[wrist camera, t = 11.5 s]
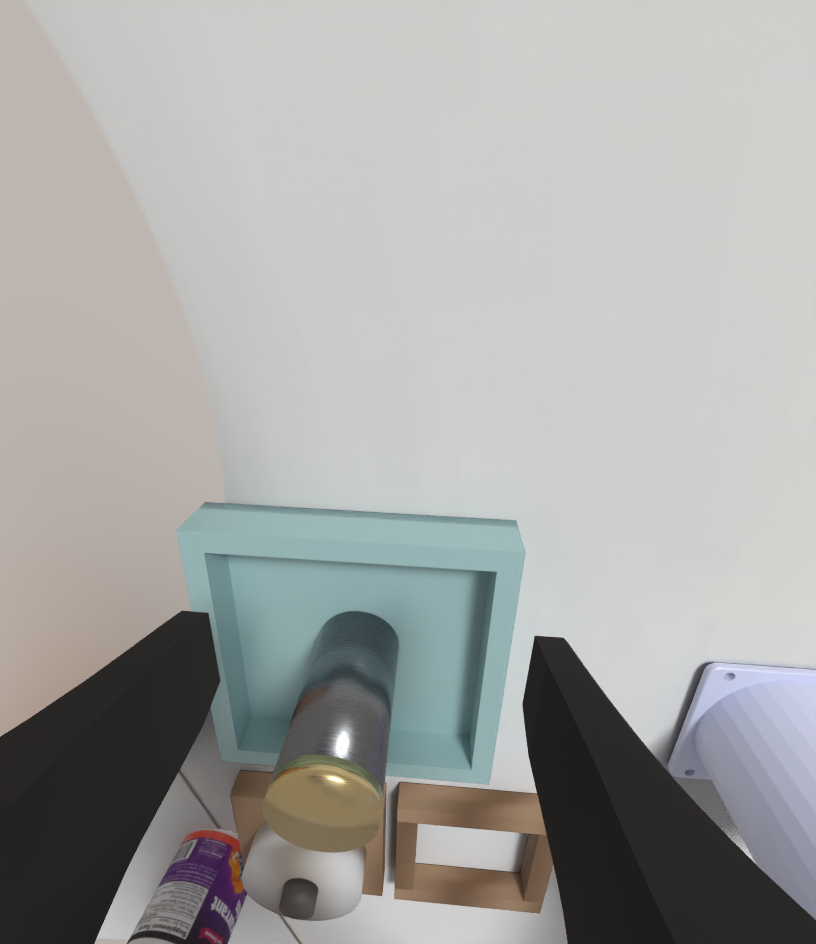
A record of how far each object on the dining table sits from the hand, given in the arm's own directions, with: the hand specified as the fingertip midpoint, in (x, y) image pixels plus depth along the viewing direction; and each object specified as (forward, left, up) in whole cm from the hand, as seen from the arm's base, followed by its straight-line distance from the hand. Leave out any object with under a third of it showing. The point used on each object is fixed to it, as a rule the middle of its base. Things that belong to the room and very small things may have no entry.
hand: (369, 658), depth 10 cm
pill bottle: (+12, +30, -11) cm, 34 cm away
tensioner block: (0, +25, -10) cm, 27 cm away
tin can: (+2, +9, -10) cm, 14 cm away
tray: (+2, +9, -10) cm, 14 cm away
